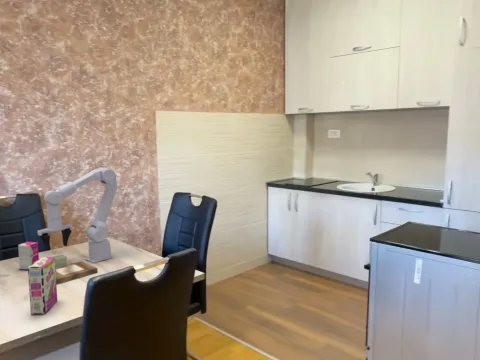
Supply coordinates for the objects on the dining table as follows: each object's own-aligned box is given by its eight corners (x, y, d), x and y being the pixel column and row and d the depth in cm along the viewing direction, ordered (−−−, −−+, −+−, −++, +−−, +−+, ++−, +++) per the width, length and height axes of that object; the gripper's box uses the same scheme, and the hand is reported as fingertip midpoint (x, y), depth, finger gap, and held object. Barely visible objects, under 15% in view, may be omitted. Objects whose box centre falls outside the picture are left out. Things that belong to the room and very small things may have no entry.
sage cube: (62, 265, 179) (61, 254, 179) (67, 267, 176) (66, 256, 176) (51, 268, 176) (50, 257, 175) (56, 270, 172) (55, 259, 172)
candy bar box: (46, 314, 130) (42, 266, 128) (30, 315, 130) (26, 267, 128) (58, 300, 141) (55, 256, 139) (44, 300, 141) (40, 256, 139)
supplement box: (30, 270, 172) (28, 245, 171) (19, 270, 173) (17, 245, 172) (40, 266, 178) (38, 241, 176) (28, 265, 179) (26, 241, 178)
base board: (82, 265, 178) (81, 260, 178) (97, 272, 169) (97, 267, 169) (41, 276, 165) (40, 271, 165) (55, 284, 156) (54, 279, 155)
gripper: (65, 213, 181) (68, 242, 182) (33, 219, 170) (36, 250, 171) (73, 215, 176) (75, 244, 178) (40, 221, 165) (43, 253, 167)
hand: (56, 247), depth 174 cm, fingers open, 7 cm apart
